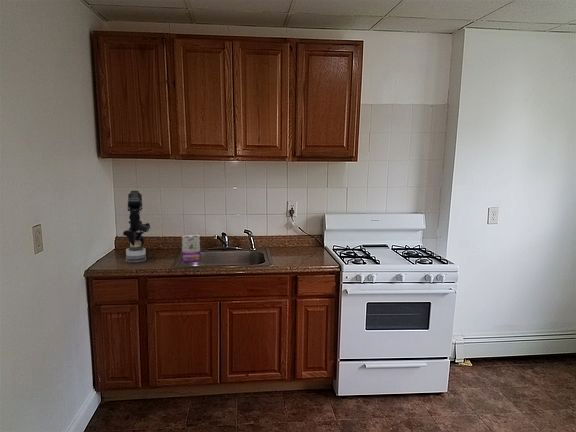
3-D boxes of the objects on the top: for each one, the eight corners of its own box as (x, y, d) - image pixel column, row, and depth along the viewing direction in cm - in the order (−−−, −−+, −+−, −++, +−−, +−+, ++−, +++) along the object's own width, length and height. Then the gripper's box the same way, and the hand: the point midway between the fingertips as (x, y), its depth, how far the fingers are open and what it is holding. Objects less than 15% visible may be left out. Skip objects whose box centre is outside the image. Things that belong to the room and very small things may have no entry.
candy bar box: (200, 260, 237) (200, 234, 235) (200, 262, 233) (200, 236, 231) (181, 260, 234) (181, 235, 232) (181, 262, 230) (181, 236, 227)
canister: (131, 257, 239) (131, 246, 238) (149, 258, 238) (149, 247, 237) (121, 262, 227) (121, 250, 226) (141, 263, 226) (140, 251, 226)
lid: (133, 244, 235) (133, 240, 235) (142, 245, 235) (142, 240, 234) (128, 247, 229) (128, 242, 229) (138, 247, 229) (138, 242, 228)
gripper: (140, 222, 220) (141, 248, 222) (154, 217, 238) (154, 242, 240) (122, 221, 220) (123, 247, 223) (137, 217, 239) (137, 241, 241)
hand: (135, 244), depth 232 cm, fingers closed on lid, 6 cm apart
